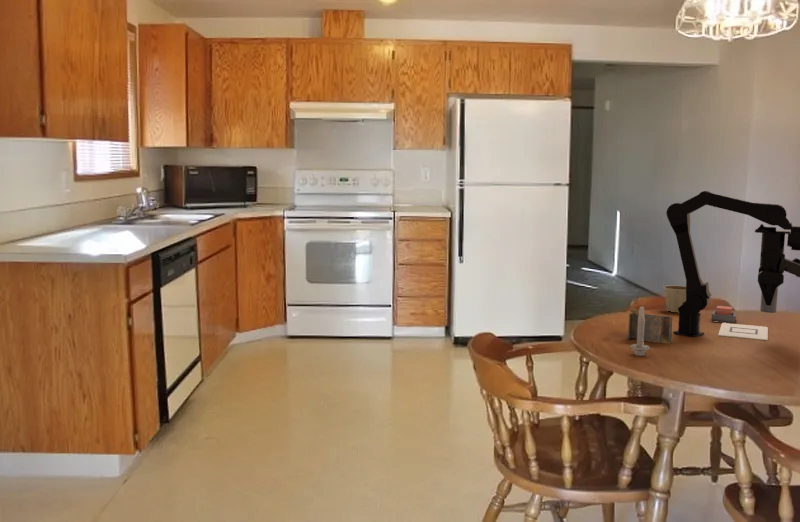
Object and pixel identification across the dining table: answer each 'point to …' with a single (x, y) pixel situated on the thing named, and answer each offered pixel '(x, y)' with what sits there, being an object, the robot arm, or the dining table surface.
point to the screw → (640, 335)
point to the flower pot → (674, 297)
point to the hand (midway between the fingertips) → (768, 304)
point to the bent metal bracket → (651, 327)
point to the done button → (724, 310)
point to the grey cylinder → (772, 307)
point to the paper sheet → (744, 331)
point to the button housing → (724, 317)
